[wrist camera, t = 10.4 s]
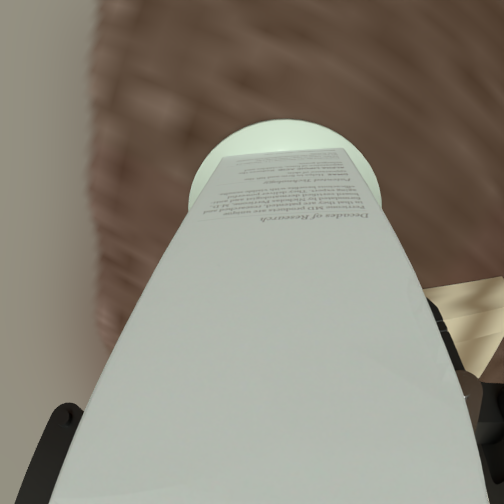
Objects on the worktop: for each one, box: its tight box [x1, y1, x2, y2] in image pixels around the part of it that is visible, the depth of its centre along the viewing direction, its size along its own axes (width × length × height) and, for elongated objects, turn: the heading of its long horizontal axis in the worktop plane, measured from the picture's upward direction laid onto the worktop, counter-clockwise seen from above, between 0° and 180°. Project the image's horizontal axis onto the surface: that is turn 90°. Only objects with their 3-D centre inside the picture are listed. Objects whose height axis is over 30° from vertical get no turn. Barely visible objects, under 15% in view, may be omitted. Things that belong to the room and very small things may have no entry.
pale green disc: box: [188, 118, 381, 210], centre depth 16 cm, size 10×10×1 cm
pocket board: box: [422, 276, 504, 379], centre depth 23 cm, size 20×17×3 cm
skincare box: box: [49, 148, 488, 504], centre depth 10 cm, size 8×6×15 cm
